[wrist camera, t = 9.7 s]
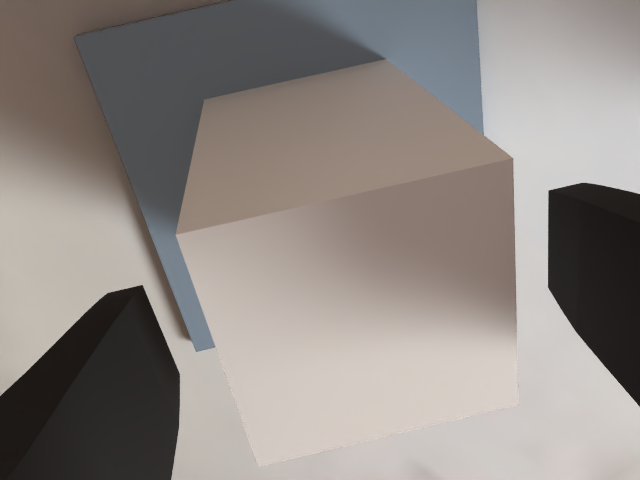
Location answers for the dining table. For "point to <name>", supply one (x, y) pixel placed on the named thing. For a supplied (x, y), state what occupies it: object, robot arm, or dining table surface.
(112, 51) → the mat
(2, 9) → the dining table surface
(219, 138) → the plug
